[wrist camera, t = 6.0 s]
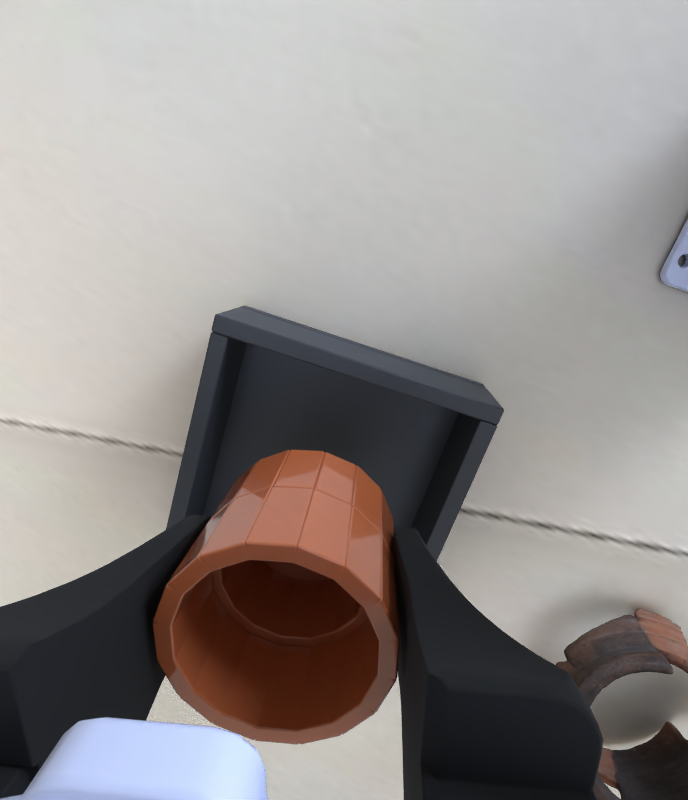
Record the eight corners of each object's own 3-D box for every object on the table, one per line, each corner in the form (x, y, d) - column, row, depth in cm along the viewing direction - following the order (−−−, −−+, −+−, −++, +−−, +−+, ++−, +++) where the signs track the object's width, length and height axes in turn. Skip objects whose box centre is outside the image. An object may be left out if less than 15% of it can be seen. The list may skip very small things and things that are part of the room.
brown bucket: (225, 439, 15) (140, 535, 10) (396, 447, 14) (405, 551, 9) (233, 582, 16) (164, 733, 11) (388, 593, 16) (392, 754, 11)
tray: (243, 305, 21) (214, 313, 17) (483, 384, 21) (505, 409, 17) (188, 531, 24) (154, 579, 21) (392, 597, 24) (394, 655, 21)
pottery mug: (513, 736, 27) (531, 830, 19) (538, 573, 29) (564, 599, 21) (759, 826, 24) (902, 986, 16) (772, 634, 25) (910, 693, 17)
